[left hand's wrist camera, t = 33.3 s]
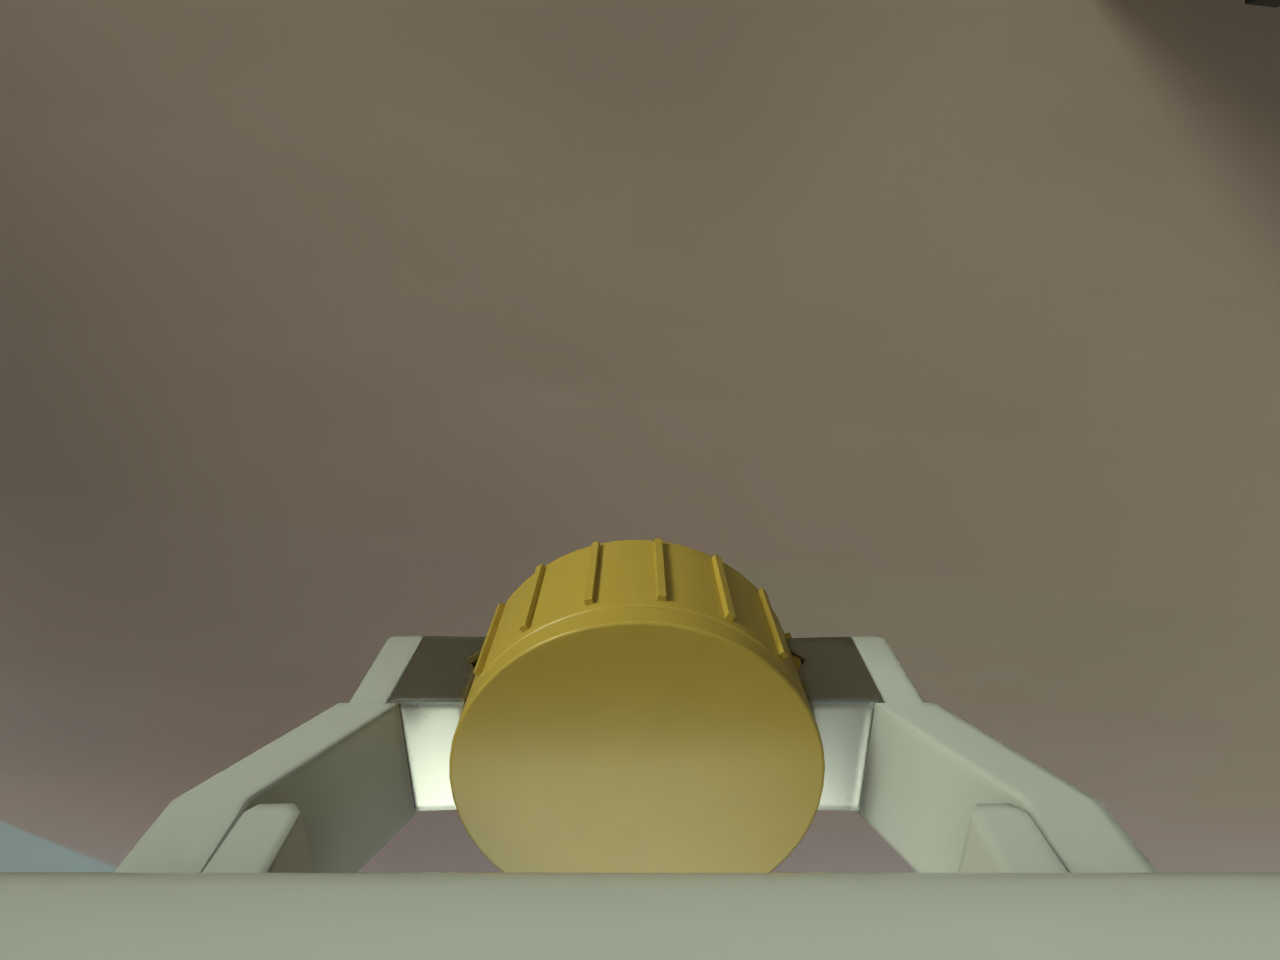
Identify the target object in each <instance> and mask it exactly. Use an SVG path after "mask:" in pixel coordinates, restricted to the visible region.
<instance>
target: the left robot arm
mask: <svg viewBox="0 0 1280 960" xmlns="http://www.w3.org/2000/svg"><path fill="white" fill-rule="evenodd" d="M485 639H486V637H452V636H427V637H425V636H394V637H391V638H389V639H388V640H387V642H386V643H385V645H384V646H383V648H382V650H381V651H380V653H379V655H378V656H377V658H376V660H375V661H374V663H373V664H372V666H371V668H370V669H369V671H368V673H367V674H366V676H365V677H364V679H363V681H362V682H361V684H360V686H359V687H358V689H357V691H356V692H355V694H354V695H353V697H352V699H351V700H350V702H349V703H338V704H336V705H335V706H333V707H331V708H330V709H328V710H326V711H324V712H323V713H321V714H319V715H318V716H316V717H314V718H312V719H311V720H309V721H307V722H306V723H304V724H302V725H300V726H299V727H297V728H295V729H294V730H292V731H290V732H288V733H287V734H285V735H283V736H282V737H280V738H278V739H276V740H275V741H273V742H271V743H270V744H268V745H266V746H264V747H263V748H261V749H259V750H258V751H256V752H254V753H253V754H251V755H249V756H247V757H246V758H244V759H242V760H241V761H239V762H237V763H235V764H234V765H232V766H230V767H229V768H227V769H225V770H223V771H222V772H220V773H218V774H217V775H215V776H213V777H211V778H210V779H208V780H206V781H205V782H203V783H201V784H199V785H198V786H196V787H194V788H193V789H191V790H189V791H187V792H186V793H184V794H182V795H181V796H179V797H177V798H176V799H174V800H172V801H171V802H170V804H169V805H168V806H167V807H166V809H165V810H164V811H163V812H162V813H161V815H160V816H159V817H158V818H157V820H156V821H155V822H154V823H153V824H152V826H151V827H150V828H149V829H148V831H147V832H146V833H145V834H144V835H143V837H142V838H141V839H140V840H139V842H138V843H137V844H136V845H135V847H134V848H133V849H132V850H131V851H130V853H129V854H128V855H127V856H126V858H125V859H124V860H123V861H122V862H121V864H120V865H119V866H118V867H117V869H116V870H115V871H114V872H113V873H0V960H1280V873H1158V872H1157V871H1156V870H1155V868H1154V867H1153V866H1152V865H1151V863H1150V862H1149V861H1148V860H1147V858H1146V857H1145V856H1144V855H1143V853H1142V852H1141V851H1140V850H1139V848H1138V847H1137V846H1136V845H1135V843H1134V842H1133V841H1132V840H1131V838H1130V837H1129V836H1128V835H1127V833H1126V832H1125V831H1124V830H1123V828H1122V827H1121V826H1120V825H1119V823H1118V822H1117V821H1116V820H1115V818H1114V817H1113V816H1112V815H1111V813H1110V812H1109V811H1108V809H1107V808H1106V807H1105V806H1104V804H1103V803H1102V802H1101V801H1099V800H1098V799H1096V798H1094V797H1093V796H1091V795H1089V794H1088V793H1086V792H1084V791H1082V790H1081V789H1079V788H1077V787H1076V786H1074V785H1072V784H1071V783H1069V782H1067V781H1066V780H1064V779H1062V778H1060V777H1059V776H1057V775H1055V774H1054V773H1052V772H1050V771H1049V770H1047V769H1045V768H1044V767H1042V766H1040V765H1038V764H1037V763H1035V762H1033V761H1032V760H1030V759H1028V758H1027V757H1025V756H1023V755H1022V754H1020V753H1018V752H1017V751H1015V750H1013V749H1011V748H1010V747H1008V746H1006V745H1005V744H1003V743H1001V742H1000V741H998V740H996V739H995V738H993V737H991V736H989V735H988V734H986V733H984V732H983V731H981V730H979V729H978V728H976V727H974V726H973V725H971V724H969V723H968V722H966V721H964V720H962V719H961V718H959V717H957V716H956V715H954V714H952V713H951V712H949V711H947V710H946V709H944V708H942V707H940V706H939V705H937V704H935V703H924V701H923V699H922V698H921V696H920V694H919V693H918V691H917V690H916V688H915V686H914V685H913V683H912V681H911V680H910V678H909V676H908V675H907V673H906V671H905V670H904V668H903V666H902V665H901V663H900V662H899V660H898V658H897V657H896V655H895V653H894V652H893V650H892V648H891V647H890V645H889V643H888V642H887V640H886V638H884V637H882V636H880V635H876V636H848V637H822V638H786V640H787V643H788V646H789V649H790V651H791V654H792V655H794V656H796V657H798V658H799V659H800V661H801V664H802V666H801V667H800V668H799V669H798V673H799V676H800V679H801V682H802V685H803V687H804V690H805V693H806V696H807V698H808V701H809V704H810V706H811V709H812V712H813V714H814V717H815V720H816V723H817V725H818V728H819V732H820V736H821V740H822V743H823V748H824V759H825V774H824V786H823V790H822V794H821V798H820V803H819V806H818V809H817V810H849V811H859V815H860V816H861V817H862V818H863V819H864V820H865V821H866V822H867V823H868V824H869V825H870V826H871V827H872V828H873V829H874V830H875V831H876V832H877V833H878V834H879V835H880V836H881V837H882V838H883V839H884V840H885V841H886V842H887V843H888V844H889V845H890V846H891V847H892V848H893V849H894V850H895V851H896V852H897V853H898V854H899V855H900V856H901V857H902V858H903V859H904V860H905V861H906V862H907V863H908V864H909V865H910V866H911V867H912V868H913V869H914V870H915V871H916V872H917V873H357V872H358V871H359V870H360V869H361V868H362V867H363V866H364V865H365V864H366V863H367V862H368V861H369V860H370V859H371V858H372V857H373V856H374V855H375V854H376V853H377V852H378V851H379V850H380V849H381V848H382V847H383V846H384V845H385V844H386V843H387V842H388V841H389V840H390V839H391V838H392V837H393V836H394V835H395V834H396V833H397V832H398V831H399V830H400V829H401V828H402V827H403V826H404V825H405V824H406V823H407V822H408V821H409V820H410V819H411V818H412V817H413V816H414V815H415V811H425V810H457V809H456V806H455V803H454V800H453V796H452V790H451V784H450V778H449V758H450V752H451V746H452V740H453V737H454V734H455V731H456V728H457V725H458V722H459V719H460V716H461V714H462V711H463V708H464V705H465V703H466V700H467V697H468V694H469V691H470V689H471V686H472V683H473V680H474V677H475V674H473V672H474V669H475V666H476V663H477V661H478V658H479V655H480V652H481V650H482V647H483V644H484V641H485Z"/></svg>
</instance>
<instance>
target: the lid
mask: <svg viewBox="0 0 1280 960" xmlns="http://www.w3.org/2000/svg"><path fill="white" fill-rule="evenodd" d="M786 638H792V637H791V635H790V633H787V634H784V631H783V629H782V627H781V625H780V622H779V620H778V618H777V616H776V614H775V612H774V611H773V609H772V607H771V605H770V602H769V599H768V596H767V593H766V591H765V590H764V589H763V588H761V589H759V590H758V589H757V588H756V587H755V586H754V585H753V584H752V583H751V582H749V581H748V580H747V579H746V578H745V577H744V576H743V575H741V574H740V573H739V572H737V571H736V570H734V569H733V568H731V567H730V566H728V565H727V564H725V563H724V562H722V559H721V557H720V556H718V555H716V554H714V556H713V557H712V556H710V555H708V554H706V553H703V552H700V551H697V550H694V549H691V548H688V547H686V546H682V545H677V544H672V543H667V542H662V539H660V538H655V539H654V541H650V540H621V541H614V542H608V543H601V544H600V543H599V541H597V542H593V543H592V544H591V546H590V547H586V548H583V549H579V550H577V551H574V552H572V553H570V554H567V555H565V556H562V557H560V558H558V559H556V560H555V561H553V562H551V563H550V564H548V565H546V566H543V564H541V565H539V566H538V567H536V570H535V573H534V574H533V575H532V576H531V577H529V578H528V579H527V580H526V581H525V582H524V583H523V584H522V585H521V586H520V587H519V588H518V589H517V590H516V591H515V592H514V593H513V594H512V595H511V597H510V598H509V599H508V601H507V602H506V603H505V604H503V603H501V602H500V603H499V605H498V606H497V609H496V611H495V614H494V617H493V619H492V622H491V625H490V628H489V630H488V633H487V636H486V639H485V641H484V644H483V647H482V650H481V652H480V655H479V658H478V661H477V663H476V666H475V669H474V672H473V674H475V677H474V680H473V683H472V686H471V689H470V691H469V694H468V697H467V700H466V703H465V705H464V708H463V711H462V714H461V716H460V719H459V722H458V725H457V728H456V731H455V734H454V737H453V740H452V746H451V752H450V758H449V778H450V784H451V790H452V796H453V800H454V803H455V806H456V809H457V812H458V815H459V817H460V819H461V821H462V823H463V825H464V827H465V829H466V831H467V833H468V834H469V836H470V837H471V838H472V840H473V841H474V843H475V844H476V845H477V847H478V848H479V850H480V851H481V852H482V853H483V854H484V855H485V856H486V857H487V858H488V859H489V860H490V861H491V862H492V863H493V864H494V865H495V866H496V867H497V868H498V869H500V870H501V871H502V872H503V873H770V872H771V871H773V870H774V869H775V868H776V867H777V866H778V865H779V864H780V863H781V862H782V861H783V860H785V859H786V858H787V857H788V856H789V855H790V853H791V852H792V851H793V850H794V848H795V847H796V846H797V845H798V844H799V842H800V841H801V840H802V838H803V836H804V835H805V833H806V831H807V830H808V828H809V827H810V825H811V823H812V821H813V818H814V816H815V813H816V811H817V809H818V806H819V803H820V798H821V794H822V790H823V786H824V774H825V759H824V748H823V743H822V740H821V736H820V732H819V728H818V725H817V723H816V720H815V717H814V714H813V712H812V709H811V706H810V704H809V701H808V698H807V696H806V693H805V690H804V687H803V685H802V682H801V679H800V676H799V673H798V669H799V668H800V667H801V666H802V664H801V661H800V659H799V658H798V657H796V656H794V655H792V654H791V651H790V649H789V646H788V643H787V640H786Z"/></svg>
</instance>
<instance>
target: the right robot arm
mask: <svg viewBox="0 0 1280 960" xmlns="http://www.w3.org/2000/svg"><path fill="white" fill-rule="evenodd" d="M1245 4H1251V5H1260V6H1269V7H1278V6H1280V0H1245Z"/></svg>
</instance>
